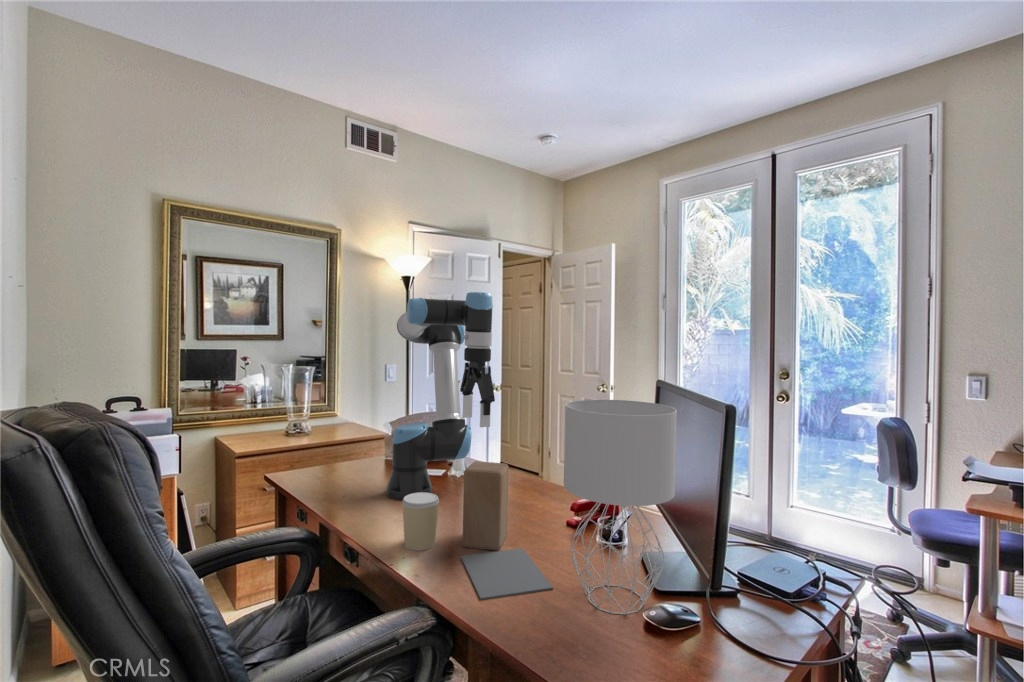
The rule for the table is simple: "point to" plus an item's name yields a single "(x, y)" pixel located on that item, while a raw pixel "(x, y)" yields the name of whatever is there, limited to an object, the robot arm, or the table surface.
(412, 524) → the coffee cup
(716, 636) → the table surface
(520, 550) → the mat
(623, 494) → the table lamp
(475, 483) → the block
